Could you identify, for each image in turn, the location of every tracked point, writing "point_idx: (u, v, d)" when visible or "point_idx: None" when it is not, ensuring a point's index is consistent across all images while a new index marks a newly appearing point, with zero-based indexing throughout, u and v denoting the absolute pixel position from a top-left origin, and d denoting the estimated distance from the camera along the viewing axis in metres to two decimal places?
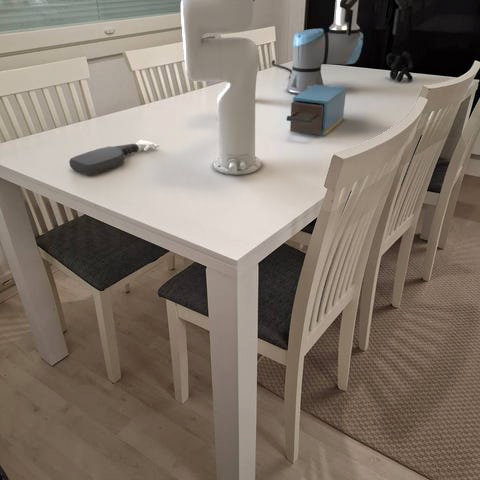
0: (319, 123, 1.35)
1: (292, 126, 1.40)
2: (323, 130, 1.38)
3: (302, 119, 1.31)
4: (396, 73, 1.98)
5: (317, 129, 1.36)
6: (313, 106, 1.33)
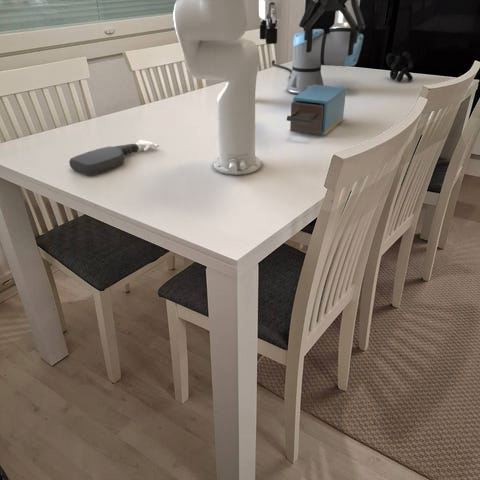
0: (319, 123, 1.35)
1: (292, 126, 1.40)
2: (323, 130, 1.38)
3: (302, 119, 1.31)
4: (396, 73, 1.98)
5: (317, 129, 1.36)
6: (313, 106, 1.33)
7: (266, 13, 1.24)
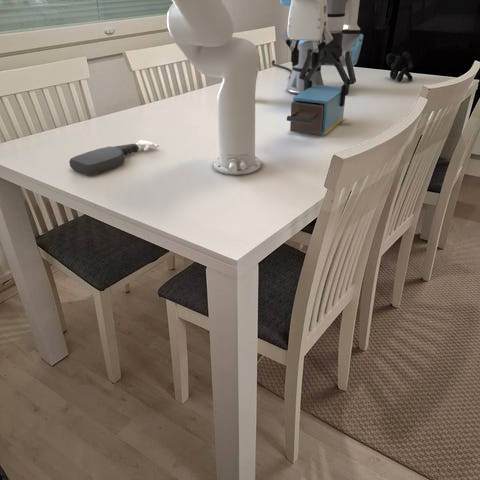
0: (319, 123, 1.35)
1: (292, 126, 1.40)
2: (323, 130, 1.38)
3: (302, 119, 1.31)
4: (396, 73, 1.98)
5: (317, 129, 1.36)
6: (313, 106, 1.33)
7: (319, 37, 1.18)
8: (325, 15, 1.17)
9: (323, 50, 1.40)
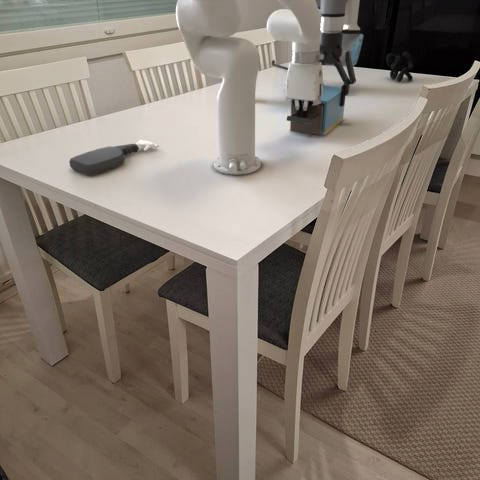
0: (319, 123, 1.35)
1: (292, 126, 1.40)
2: (323, 130, 1.38)
3: (302, 119, 1.30)
4: (396, 73, 1.98)
5: (317, 129, 1.36)
6: (313, 106, 1.33)
7: (311, 100, 1.28)
8: (320, 78, 1.25)
9: (323, 50, 1.40)
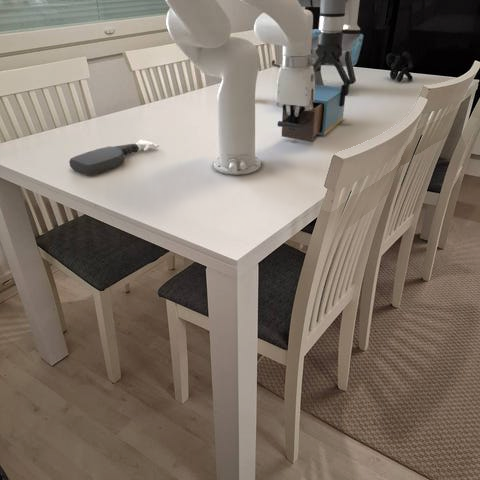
0: (311, 129, 1.30)
1: (284, 132, 1.35)
2: (323, 130, 1.38)
3: (293, 125, 1.25)
4: (396, 73, 1.98)
5: (309, 135, 1.31)
6: (305, 111, 1.28)
7: (303, 106, 1.23)
8: (312, 83, 1.20)
9: (323, 50, 1.40)
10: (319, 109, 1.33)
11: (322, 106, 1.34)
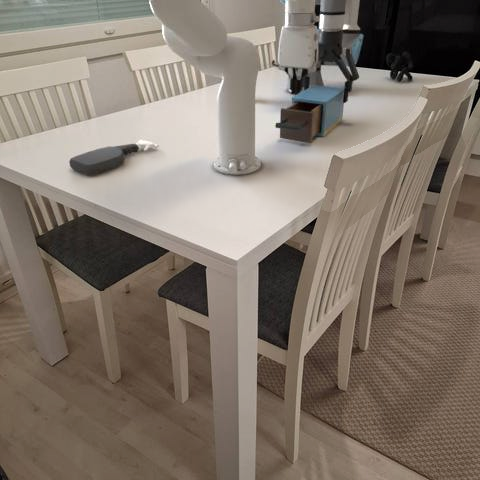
0: (309, 130, 1.29)
1: (282, 133, 1.34)
2: (322, 131, 1.38)
3: (291, 126, 1.25)
4: (396, 73, 1.98)
5: (307, 136, 1.31)
6: (303, 113, 1.28)
7: (306, 68, 1.18)
8: (316, 43, 1.16)
9: (323, 49, 1.40)
10: (317, 110, 1.32)
11: (320, 107, 1.34)
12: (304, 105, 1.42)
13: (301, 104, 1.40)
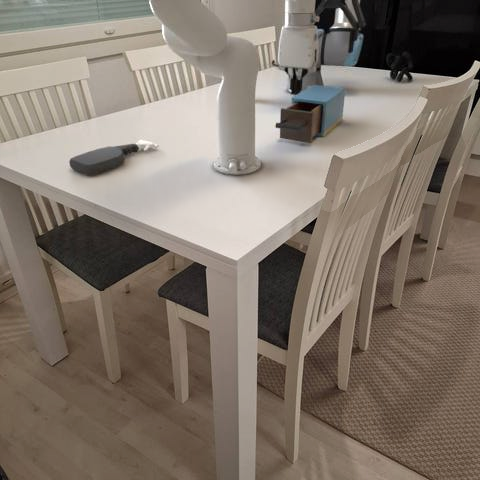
0: (309, 130, 1.29)
1: (282, 133, 1.34)
2: (322, 131, 1.38)
3: (291, 126, 1.25)
4: (396, 73, 1.98)
5: (307, 137, 1.31)
6: (303, 113, 1.28)
7: (306, 68, 1.18)
8: (316, 43, 1.16)
9: None
10: (317, 110, 1.32)
11: (320, 107, 1.34)
12: (304, 105, 1.42)
13: (301, 104, 1.40)
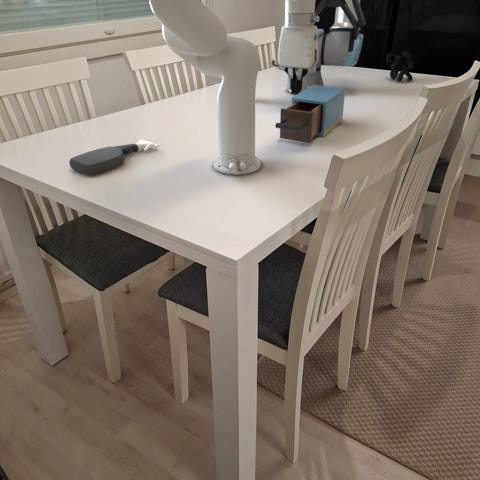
0: (309, 130, 1.29)
1: (282, 133, 1.34)
2: (322, 131, 1.38)
3: (291, 126, 1.25)
4: (396, 73, 1.98)
5: (307, 137, 1.31)
6: (303, 113, 1.28)
7: (306, 68, 1.18)
8: (316, 43, 1.16)
9: None
10: (317, 110, 1.32)
11: (320, 107, 1.34)
12: (304, 105, 1.42)
13: (301, 104, 1.40)
